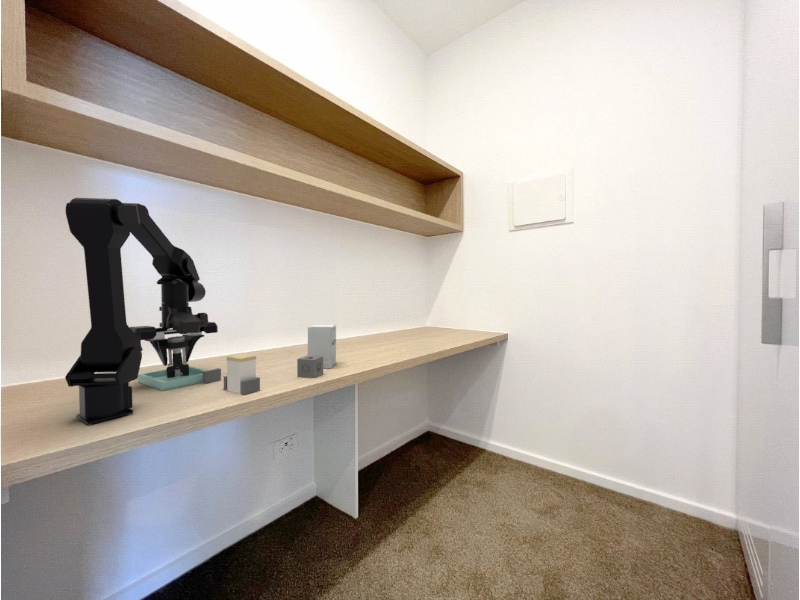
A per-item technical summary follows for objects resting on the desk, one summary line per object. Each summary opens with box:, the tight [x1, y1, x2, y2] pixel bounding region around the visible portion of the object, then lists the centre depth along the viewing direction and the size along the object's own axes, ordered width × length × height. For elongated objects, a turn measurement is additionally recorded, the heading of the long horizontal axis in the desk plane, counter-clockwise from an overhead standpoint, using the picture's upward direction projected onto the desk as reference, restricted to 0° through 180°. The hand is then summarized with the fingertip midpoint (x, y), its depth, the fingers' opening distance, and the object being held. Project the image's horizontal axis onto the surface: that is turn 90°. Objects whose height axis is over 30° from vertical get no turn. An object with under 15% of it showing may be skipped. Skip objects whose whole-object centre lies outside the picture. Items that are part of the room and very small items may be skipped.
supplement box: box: [307, 324, 337, 370], centre depth 102 cm, size 7×7×13 cm
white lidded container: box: [226, 353, 257, 395], centre depth 77 cm, size 4×5×8 cm
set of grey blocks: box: [202, 367, 261, 396], centre depth 79 cm, size 4×17×3 cm, turn 58°
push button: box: [159, 335, 190, 378], centre depth 84 cm, size 7×5×10 cm
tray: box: [137, 365, 207, 392], centre depth 84 cm, size 12×14×2 cm
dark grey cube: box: [296, 354, 324, 379], centre depth 90 cm, size 5×5×5 cm
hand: (175, 363), depth 84 cm, fingers open, 4 cm apart
